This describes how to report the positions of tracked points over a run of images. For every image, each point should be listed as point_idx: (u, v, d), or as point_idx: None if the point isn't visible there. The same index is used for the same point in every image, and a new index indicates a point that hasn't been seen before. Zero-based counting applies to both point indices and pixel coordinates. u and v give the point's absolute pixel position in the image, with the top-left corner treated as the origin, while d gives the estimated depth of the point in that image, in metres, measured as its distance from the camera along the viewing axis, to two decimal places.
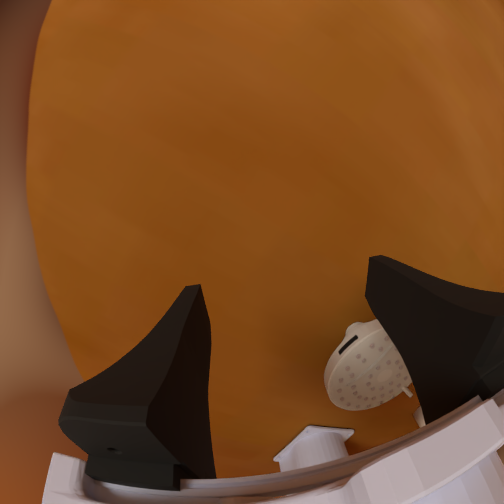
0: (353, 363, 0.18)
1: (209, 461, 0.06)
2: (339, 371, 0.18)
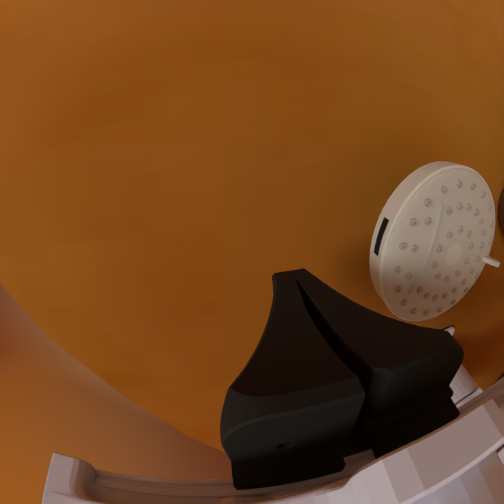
0: (402, 259, 0.12)
1: None
2: (389, 278, 0.12)
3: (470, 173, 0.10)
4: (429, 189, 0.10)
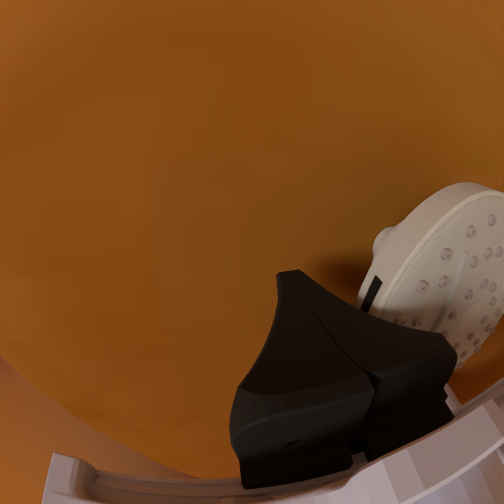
0: None
1: None
2: None
3: None
4: (450, 233, 0.06)
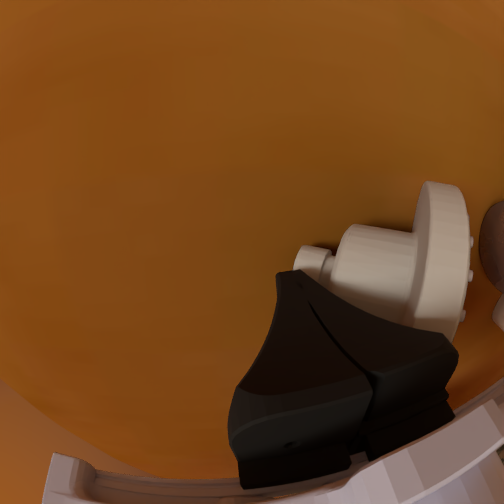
0: None
1: None
2: None
3: None
4: (469, 255, 0.06)
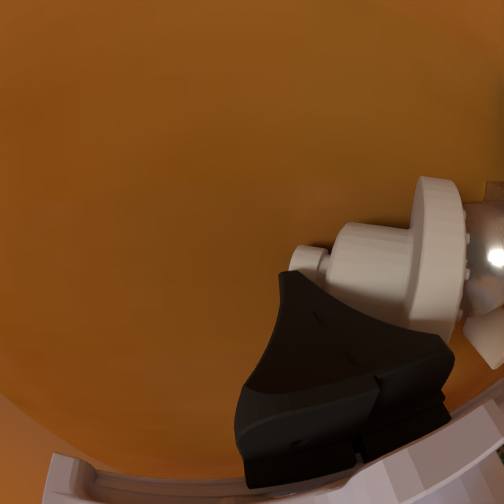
0: None
1: None
2: None
3: None
4: None
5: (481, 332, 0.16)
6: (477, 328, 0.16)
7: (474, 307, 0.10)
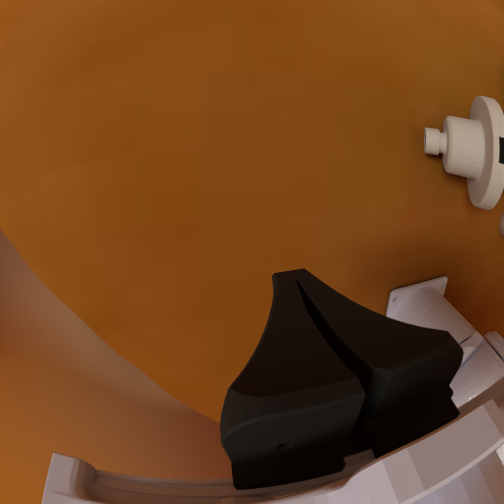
0: None
1: None
2: None
3: None
4: None
5: None
6: None
7: None
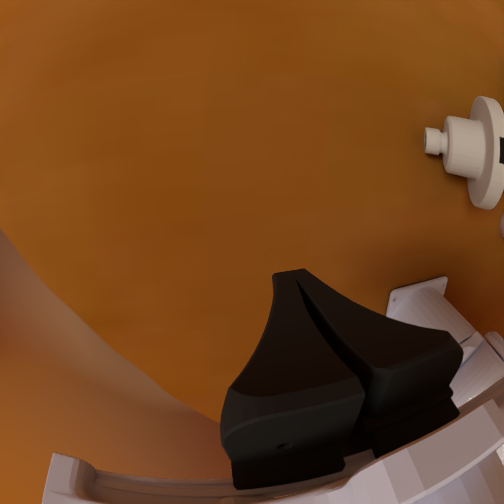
0: None
1: None
2: None
3: None
4: None
5: None
6: None
7: None
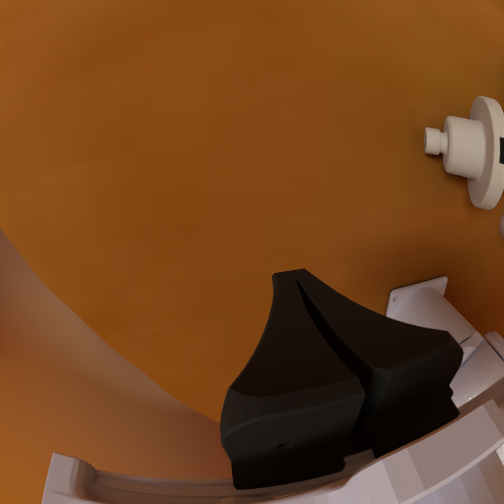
0: None
1: None
2: None
3: None
4: None
5: None
6: None
7: None
